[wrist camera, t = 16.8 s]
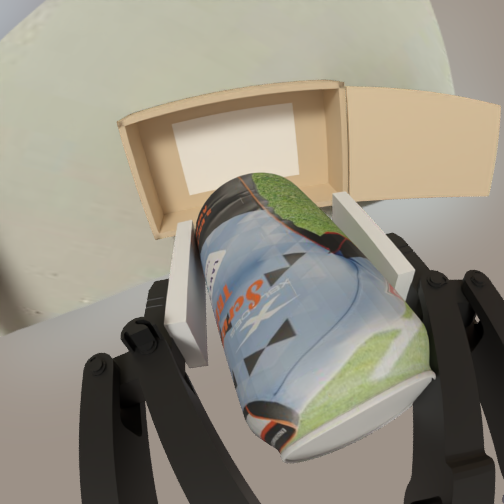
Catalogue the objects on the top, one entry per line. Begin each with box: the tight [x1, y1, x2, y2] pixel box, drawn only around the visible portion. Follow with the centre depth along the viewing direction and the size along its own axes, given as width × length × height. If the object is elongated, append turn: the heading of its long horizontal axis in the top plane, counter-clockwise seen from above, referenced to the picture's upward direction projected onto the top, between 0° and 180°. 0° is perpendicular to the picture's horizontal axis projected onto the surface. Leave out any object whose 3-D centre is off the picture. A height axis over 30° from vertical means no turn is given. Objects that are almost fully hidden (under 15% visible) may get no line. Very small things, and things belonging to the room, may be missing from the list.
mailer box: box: [117, 80, 348, 240], centre depth 26 cm, size 20×12×5 cm, turn 98°
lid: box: [345, 86, 501, 202], centre depth 23 cm, size 19×12×1 cm, turn 98°
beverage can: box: [195, 172, 436, 463], centre depth 11 cm, size 6×7×12 cm
